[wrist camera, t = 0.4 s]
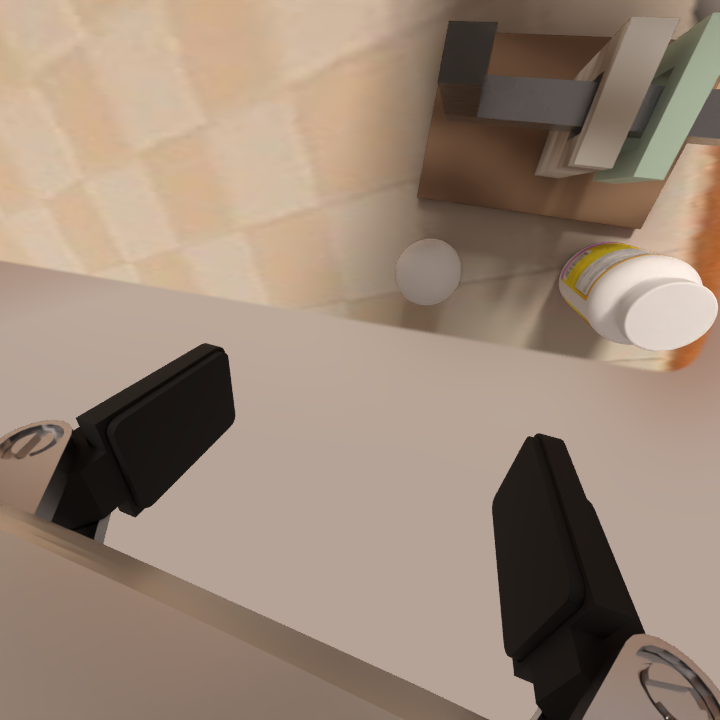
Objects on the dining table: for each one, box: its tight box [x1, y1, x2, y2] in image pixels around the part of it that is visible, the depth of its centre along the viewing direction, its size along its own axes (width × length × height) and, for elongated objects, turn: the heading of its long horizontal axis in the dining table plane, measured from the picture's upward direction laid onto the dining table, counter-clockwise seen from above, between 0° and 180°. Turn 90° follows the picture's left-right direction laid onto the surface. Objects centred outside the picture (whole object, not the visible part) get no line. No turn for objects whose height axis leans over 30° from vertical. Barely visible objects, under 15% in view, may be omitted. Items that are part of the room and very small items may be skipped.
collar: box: [593, 13, 720, 184], centre depth 18 cm, size 6×2×6 cm, turn 173°
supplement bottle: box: [559, 242, 718, 351], centre depth 25 cm, size 7×7×13 cm
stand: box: [417, 17, 720, 229], centre depth 22 cm, size 12×20×13 cm, turn 83°
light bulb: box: [396, 238, 462, 306], centre depth 30 cm, size 6×6×10 cm
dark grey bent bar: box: [438, 21, 720, 146], centre depth 16 cm, size 2×16×8 cm, turn 83°
